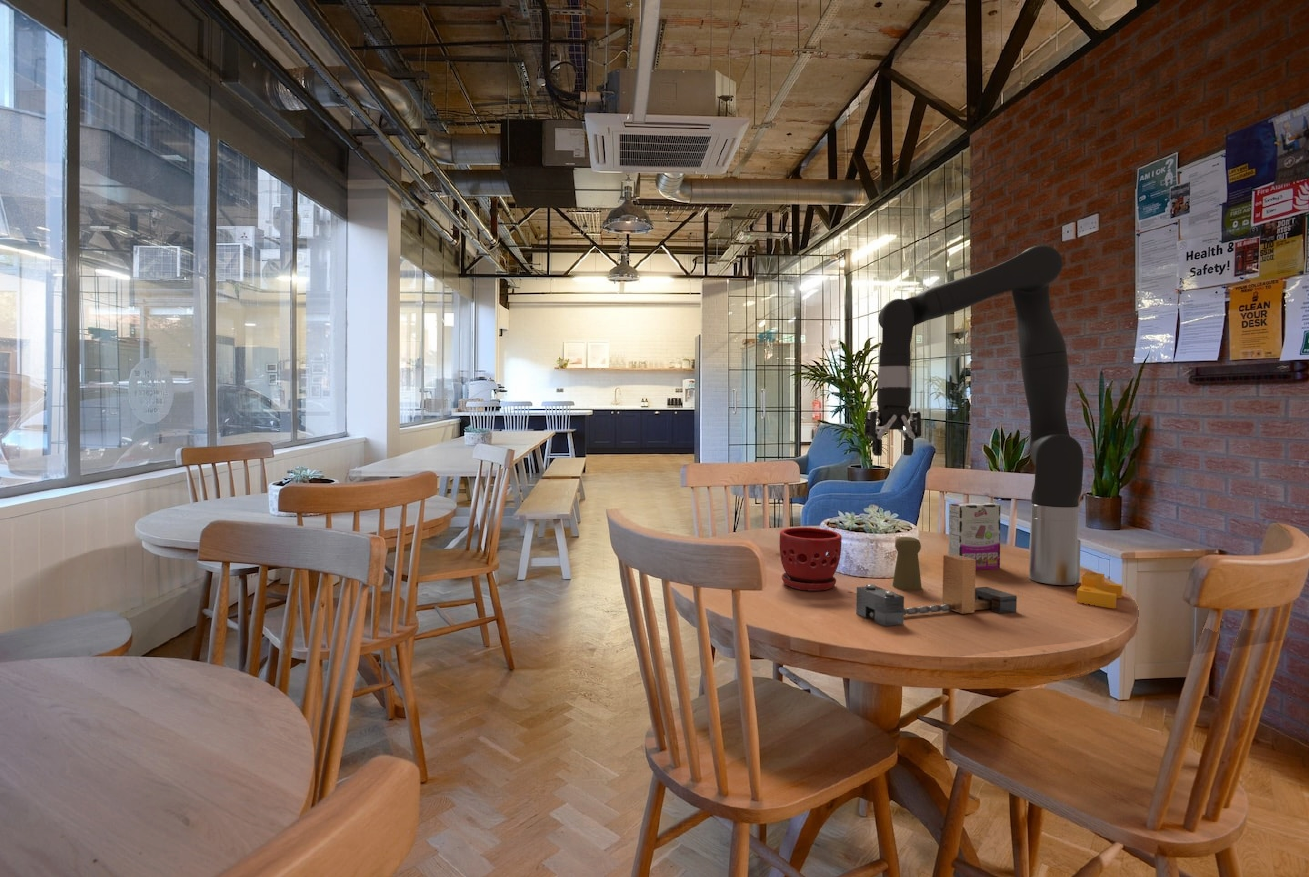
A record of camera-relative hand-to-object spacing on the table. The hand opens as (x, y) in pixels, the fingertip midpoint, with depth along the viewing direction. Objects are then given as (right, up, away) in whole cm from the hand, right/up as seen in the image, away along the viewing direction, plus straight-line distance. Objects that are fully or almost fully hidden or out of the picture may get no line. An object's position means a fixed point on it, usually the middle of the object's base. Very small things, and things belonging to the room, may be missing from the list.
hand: (892, 455), depth 161 cm
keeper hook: (+10, -29, -27) cm, 41 cm away
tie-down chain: (-3, -29, -32) cm, 43 cm away
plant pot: (-22, -28, -12) cm, 38 cm away
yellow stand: (+33, -27, -18) cm, 46 cm away
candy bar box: (+22, -29, +7) cm, 37 cm away
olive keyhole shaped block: (-1, -29, -12) cm, 31 cm away
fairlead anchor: (-15, -29, -36) cm, 49 cm away
